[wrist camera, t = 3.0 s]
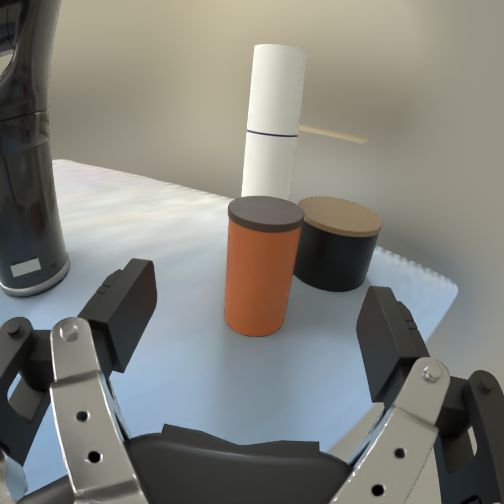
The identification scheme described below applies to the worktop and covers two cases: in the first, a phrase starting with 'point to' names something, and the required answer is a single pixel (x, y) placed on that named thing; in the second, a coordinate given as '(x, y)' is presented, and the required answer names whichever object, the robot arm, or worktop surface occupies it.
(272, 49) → the cylindrical container
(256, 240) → the orange tin
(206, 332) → the worktop surface
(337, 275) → the black canister
